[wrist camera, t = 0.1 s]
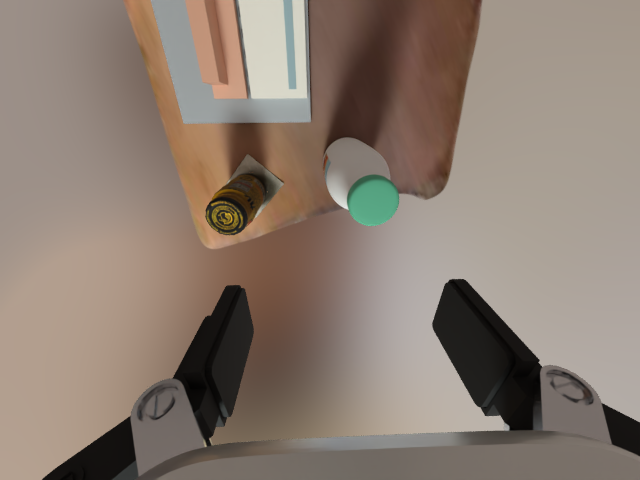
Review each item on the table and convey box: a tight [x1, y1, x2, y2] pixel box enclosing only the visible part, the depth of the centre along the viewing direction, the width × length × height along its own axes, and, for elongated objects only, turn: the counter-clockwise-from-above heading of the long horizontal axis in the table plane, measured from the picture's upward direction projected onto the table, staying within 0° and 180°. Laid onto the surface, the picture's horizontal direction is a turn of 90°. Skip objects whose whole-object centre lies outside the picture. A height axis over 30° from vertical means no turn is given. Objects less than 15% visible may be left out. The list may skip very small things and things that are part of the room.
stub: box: [185, 0, 249, 99], centre depth 27 cm, size 12×4×4 cm, turn 1°
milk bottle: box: [323, 137, 399, 226], centre depth 29 cm, size 8×8×20 cm
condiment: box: [205, 154, 284, 235], centre depth 34 cm, size 7×8×12 cm
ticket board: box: [151, 0, 311, 124], centre depth 29 cm, size 18×19×2 cm
